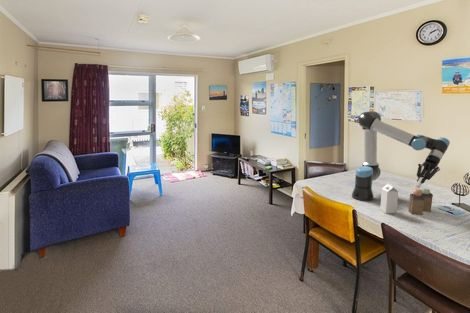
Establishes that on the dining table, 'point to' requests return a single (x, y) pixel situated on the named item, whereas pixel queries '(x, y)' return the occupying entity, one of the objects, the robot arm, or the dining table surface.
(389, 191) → the milk carton
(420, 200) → the front pedestal
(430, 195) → the rear pedestal
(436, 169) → the robot arm
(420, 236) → the dining table surface
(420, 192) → the terracotta button
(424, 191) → the sage button
